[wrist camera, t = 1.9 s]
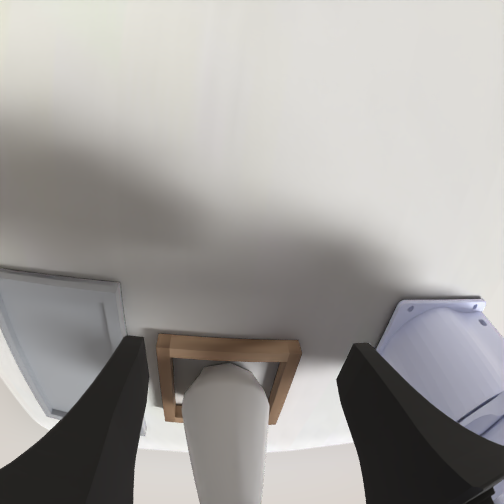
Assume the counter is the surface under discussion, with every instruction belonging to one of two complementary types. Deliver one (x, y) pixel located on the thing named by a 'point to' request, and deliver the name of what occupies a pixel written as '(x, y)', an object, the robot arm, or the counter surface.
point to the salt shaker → (227, 434)
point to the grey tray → (60, 333)
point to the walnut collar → (226, 351)
